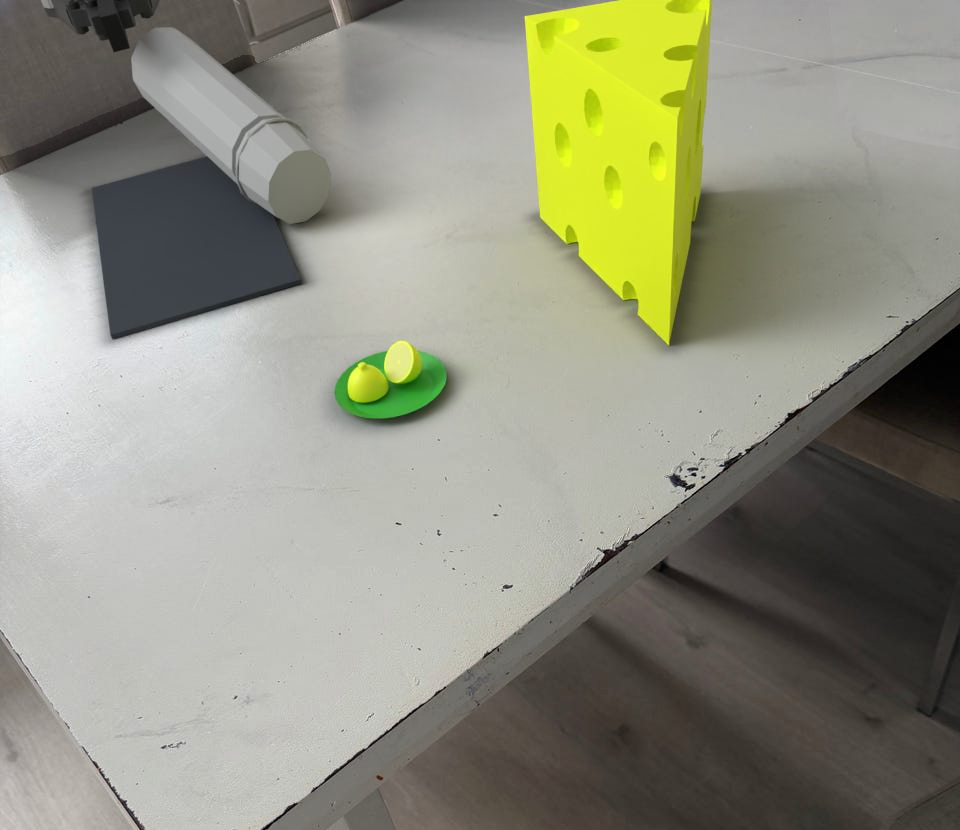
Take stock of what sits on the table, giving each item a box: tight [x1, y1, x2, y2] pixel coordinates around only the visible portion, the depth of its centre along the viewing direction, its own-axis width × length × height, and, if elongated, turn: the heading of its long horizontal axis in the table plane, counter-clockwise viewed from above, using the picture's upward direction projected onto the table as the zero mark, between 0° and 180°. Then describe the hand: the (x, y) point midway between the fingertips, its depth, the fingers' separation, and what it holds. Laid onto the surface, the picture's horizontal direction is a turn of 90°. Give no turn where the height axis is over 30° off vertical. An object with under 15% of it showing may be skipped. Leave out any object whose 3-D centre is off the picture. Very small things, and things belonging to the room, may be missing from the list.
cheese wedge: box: [524, 0, 713, 346], centre depth 66 cm, size 19×20×15 cm
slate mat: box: [91, 155, 303, 340], centre depth 83 cm, size 30×16×1 cm, turn 19°
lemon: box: [334, 340, 448, 419], centre depth 63 cm, size 8×8×3 cm
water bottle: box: [131, 26, 332, 225], centre depth 85 cm, size 9×8×25 cm
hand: (115, 33), depth 80 cm, fingers closed
